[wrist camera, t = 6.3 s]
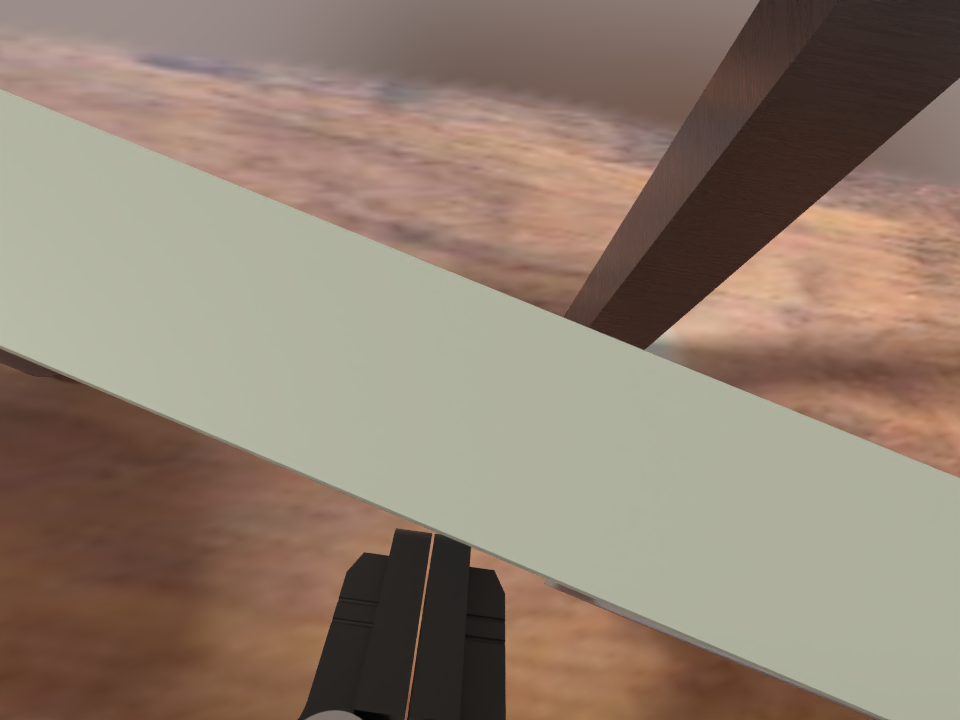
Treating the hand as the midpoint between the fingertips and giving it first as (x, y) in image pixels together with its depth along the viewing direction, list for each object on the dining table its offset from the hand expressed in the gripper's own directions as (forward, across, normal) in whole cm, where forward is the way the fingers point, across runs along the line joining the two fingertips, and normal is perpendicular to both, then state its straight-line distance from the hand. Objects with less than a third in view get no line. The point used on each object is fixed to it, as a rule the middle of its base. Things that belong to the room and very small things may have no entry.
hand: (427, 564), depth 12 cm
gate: (+6, +4, +2) cm, 7 cm away
